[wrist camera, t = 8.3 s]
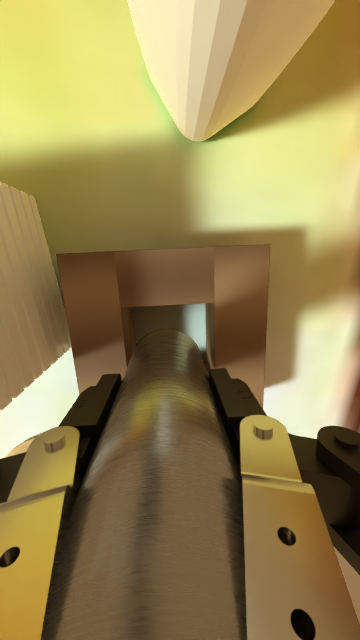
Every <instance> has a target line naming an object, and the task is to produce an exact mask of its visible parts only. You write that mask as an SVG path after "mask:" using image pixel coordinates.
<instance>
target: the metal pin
mask: <svg viewBox="0 0 360 640" xmlns="http://www.w3.org/2000/svg"><path fill="white" fill-rule="evenodd" d="M44 640H247V629H246V601H245V573H244V546H243V521H242V498H241V479H240V471H239V468H238V465H237V462H236V459H235V456H234V453H233V450H232V447H231V444H230V441H229V438H228V435H227V432H226V429H225V426H224V423H223V420H222V417H221V414H220V411H219V408H218V404H217V401H216V398H215V395H214V392H213V389H212V386H211V383H210V380H209V377H208V374H207V371H206V368H205V365H204V362H203V359H202V356H201V353H200V350H199V348H198V346H197V344H196V343H195V342H194V341H193V340H192V339H191V338H190V337H189V336H188V335H186V334H184V333H183V332H180V331H177V330H173V329H161V330H157V331H154V332H151V333H149V334H147V335H146V336H145V337H143V338H142V339H141V340H140V341H139V343H138V344H137V346H136V347H135V350H134V352H133V354H132V357H131V359H130V362H129V364H128V367H127V369H126V372H125V375H124V377H123V380H122V382H121V385H120V387H119V390H118V392H117V395H116V397H115V400H114V402H113V405H112V407H111V410H110V412H109V415H108V417H107V420H106V422H105V425H104V427H103V430H102V432H101V435H100V437H99V440H98V442H97V445H96V447H95V450H94V452H93V455H92V458H91V460H90V463H89V465H88V468H87V470H86V473H85V475H84V478H83V480H82V483H81V485H80V488H79V490H78V493H77V495H76V498H75V501H74V504H73V507H72V511H71V515H70V518H69V522H68V526H67V531H66V535H65V539H64V544H63V548H62V553H61V557H60V562H59V567H58V572H57V576H56V581H55V586H54V591H53V596H52V601H51V606H50V611H49V616H48V620H47V626H46V631H45V636H44Z"/></svg>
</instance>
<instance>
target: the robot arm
mask: <svg viewBox="0 0 360 640" xmlns="http://www.w3.org/2000/svg"><path fill="white" fill-rule="evenodd" d="M209 380H210V383H211V386H212V389H213V392H214V395H215V398H216V401H217V404H218V408H219V411H220V414H221V417H222V420H223V423H224V426H225V429H226V432H227V435H228V438H229V441H230V444H231V447H232V450H233V453H234V456H235V459H236V462H237V465H238V468H239V471H240V479H241V498H242V521H243V546H244V573H245V601H246V629H247V640H360V624H359V621H358V618H357V615H356V612H355V609H354V606H353V603H352V600H351V597H350V595H349V592H348V589H347V586H346V583H345V580H344V577H343V574H342V571H341V568H340V565H339V562H338V559H337V556H336V553H335V550H334V547H335V548H336V549H337V550H338V551H339V553H340V554H341V555H342V556H343V557H344V558H345V559H346V560H347V561H348V563H349V564H350V565H351V566H352V567H353V568H354V569H355V570H356V572H357V573H358V574H359V575H360V434H359V433H358V432H355V431H353V430H350V429H348V428H344V427H339V426H326V427H323V428H321V429H320V430H319V431H318V436H317V439H312V438H306V437H300V436H295V435H292V434H289V433H288V432H287V430H286V428H285V426H284V425H283V424H282V423H280V422H279V421H278V420H276V419H274V418H271V417H269V416H267V415H266V414H265V412H264V410H263V409H262V407H261V406H260V404H259V402H258V401H257V399H256V398H255V396H254V394H253V393H252V392H251V390H250V388H249V386H248V385H247V384H246V383H245V382H243V381H242V380H240V379H239V378H234V379H231V377H230V375H229V373H228V371H227V369H226V368H216V369H209ZM121 382H122V378H121V374H120V373H118V374H103V375H102V376H101V378H100V380H99V381H98V383H97V385H96V386H90V387H88V388H87V389H86V390H84V391H83V392H81V394H80V395H79V397H78V398H77V400H76V402H75V403H74V404H73V406H72V408H71V409H70V410H69V412H68V413H67V415H66V416H65V418H64V419H63V421H62V422H61V424H60V425H59V427H56V428H53V429H50V430H48V431H46V432H44V433H42V434H40V435H39V436H38V437H36V438H35V439H34V440H33V441H32V442H31V444H30V445H29V447H28V450H27V452H24V453H20V454H17V455H13V456H9V457H6V458H2V459H0V640H44V636H45V631H46V626H47V620H48V616H49V611H50V606H51V601H52V596H53V591H54V586H55V581H56V576H57V572H58V567H59V562H60V557H61V553H62V548H63V544H64V539H65V535H66V531H67V526H68V522H69V518H70V515H71V511H72V507H73V504H74V501H75V498H76V495H77V493H78V490H79V488H80V485H81V483H82V480H83V478H84V475H85V473H86V470H87V468H88V465H89V463H90V460H91V458H92V455H93V452H94V450H95V447H96V445H97V442H98V440H99V437H100V435H101V432H102V430H103V427H104V425H105V422H106V420H107V417H108V415H109V412H110V410H111V407H112V405H113V402H114V400H115V397H116V395H117V392H118V390H119V387H120V385H121ZM333 546H334V547H333Z"/></svg>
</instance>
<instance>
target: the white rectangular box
mask: <svg viewBox="0 0 360 640" xmlns="http://www.w3.org/2000/svg"><path fill="white" fill-rule="evenodd" d="M71 347H72V346H71V340H70V334H69V328H68V322H67V316H66V312H65V309H64V305H63V301H62V297H61V294H60V290H59V286H58V282H57V278H56V275H55V271H54V267H53V263H52V260H51V256H50V252H49V248H48V245H47V241H46V237H45V233H44V230H43V226H42V222H41V218H40V214H39V211H38V207H37V203H36V199H35V197H34V196H32V195H30V194H28V195H27V193H25V192H23V191H21V190H19V191H18V189H16V188H14V187H12V186H8V185H7V184H5V183H3V182H1V181H0V410H3V409H4V408H5V407H6V406H7V405H8V404H9V403H10V402H12V399H11V398H16V397H17V396H18V395H19V394H20V393H21V392H23V391H24V388H27V387H28V386H29V385H30V384H31V383H32V382H34V379H37V378H38V377H39V376H40V375H41V374H42V373H43V371H46V370H47V369H48V368H49V367H50V366H51V364H53V363H55V362H56V361H57V360H58V359H57V358H60V357H61V356H62V355H63V354H64V353H66V352H67V351H68V350H69V348H71Z"/></svg>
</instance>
